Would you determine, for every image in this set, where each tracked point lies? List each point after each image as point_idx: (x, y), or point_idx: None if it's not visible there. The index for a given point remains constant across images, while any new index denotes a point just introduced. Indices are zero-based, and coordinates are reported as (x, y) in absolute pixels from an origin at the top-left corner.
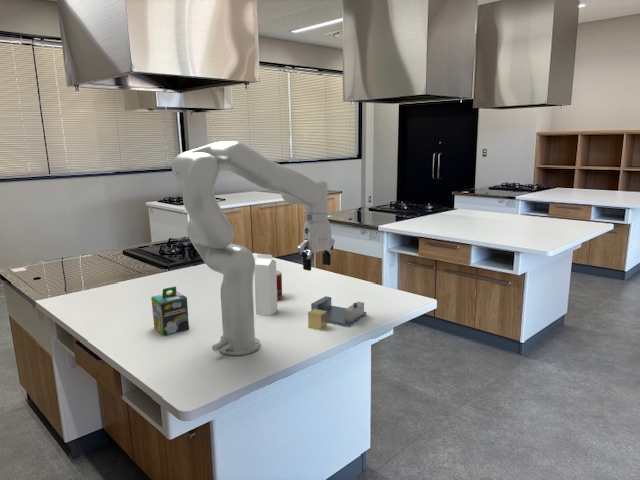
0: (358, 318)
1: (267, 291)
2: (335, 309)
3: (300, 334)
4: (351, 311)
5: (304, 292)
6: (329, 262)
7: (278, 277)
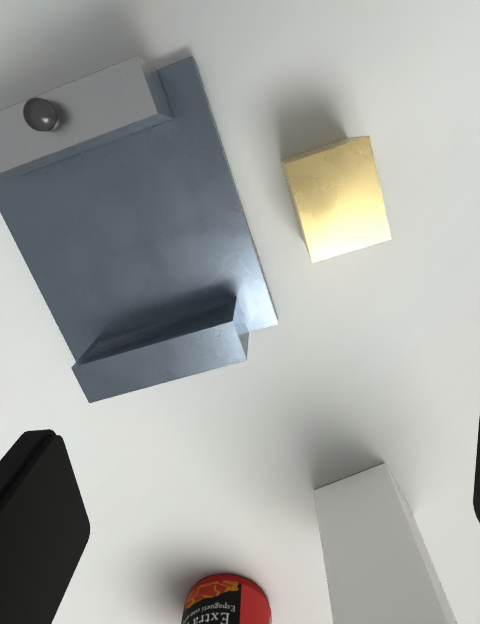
0: None
1: (432, 582)
2: (96, 302)
3: (470, 170)
4: (132, 59)
5: None
6: (29, 455)
7: None
